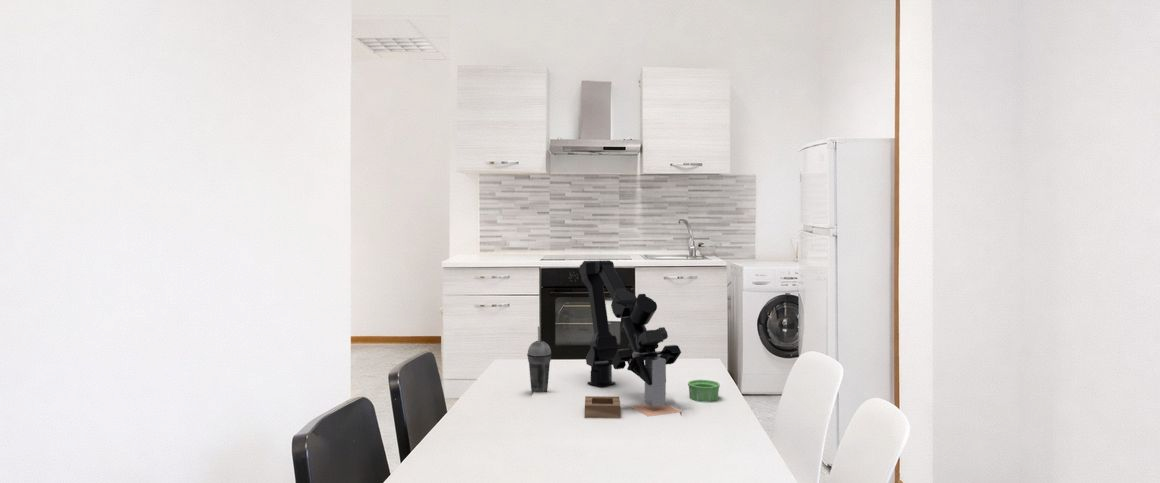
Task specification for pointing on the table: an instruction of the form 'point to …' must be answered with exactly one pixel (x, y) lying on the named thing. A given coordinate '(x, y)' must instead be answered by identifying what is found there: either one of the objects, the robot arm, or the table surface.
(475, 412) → the table surface
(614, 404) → the socket block
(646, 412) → the mat
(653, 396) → the peg
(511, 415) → the table surface
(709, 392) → the ramekin
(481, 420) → the table surface
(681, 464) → the table surface
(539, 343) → the beverage cup
